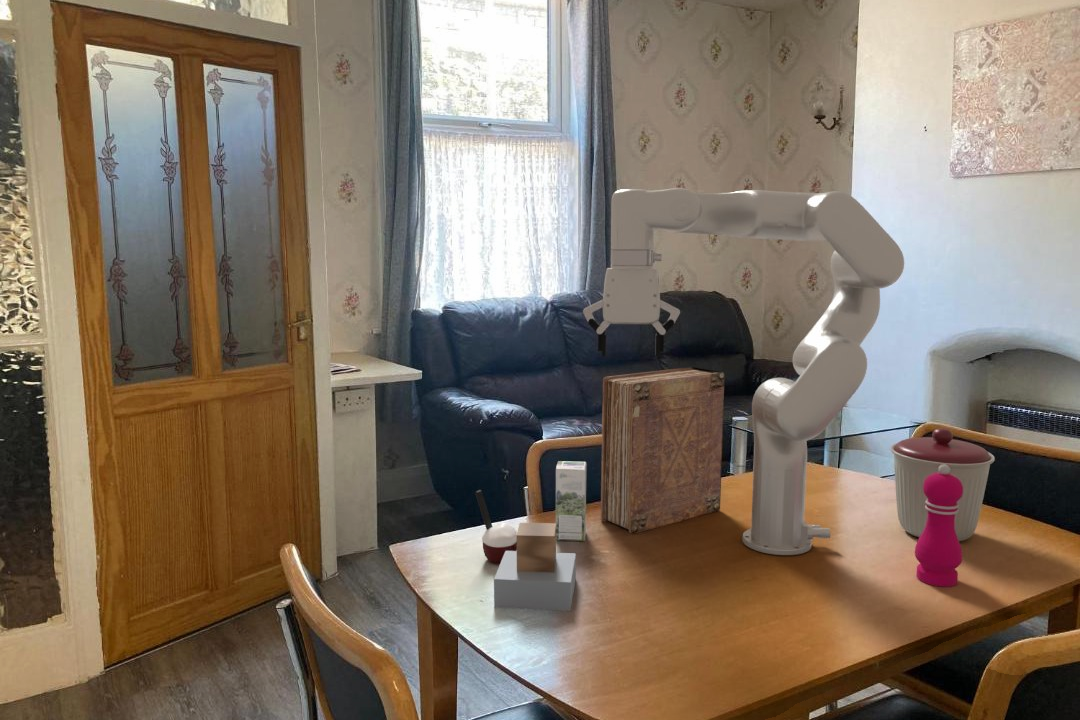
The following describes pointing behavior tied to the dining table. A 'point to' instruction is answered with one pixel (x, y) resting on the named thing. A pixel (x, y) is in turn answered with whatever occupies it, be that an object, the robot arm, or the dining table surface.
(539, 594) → the grey block
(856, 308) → the robot arm
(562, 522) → the syrup box
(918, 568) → the pepper mill
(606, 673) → the dining table surface
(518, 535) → the walnut cube
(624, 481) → the book
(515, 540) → the cocoa
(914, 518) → the canister
